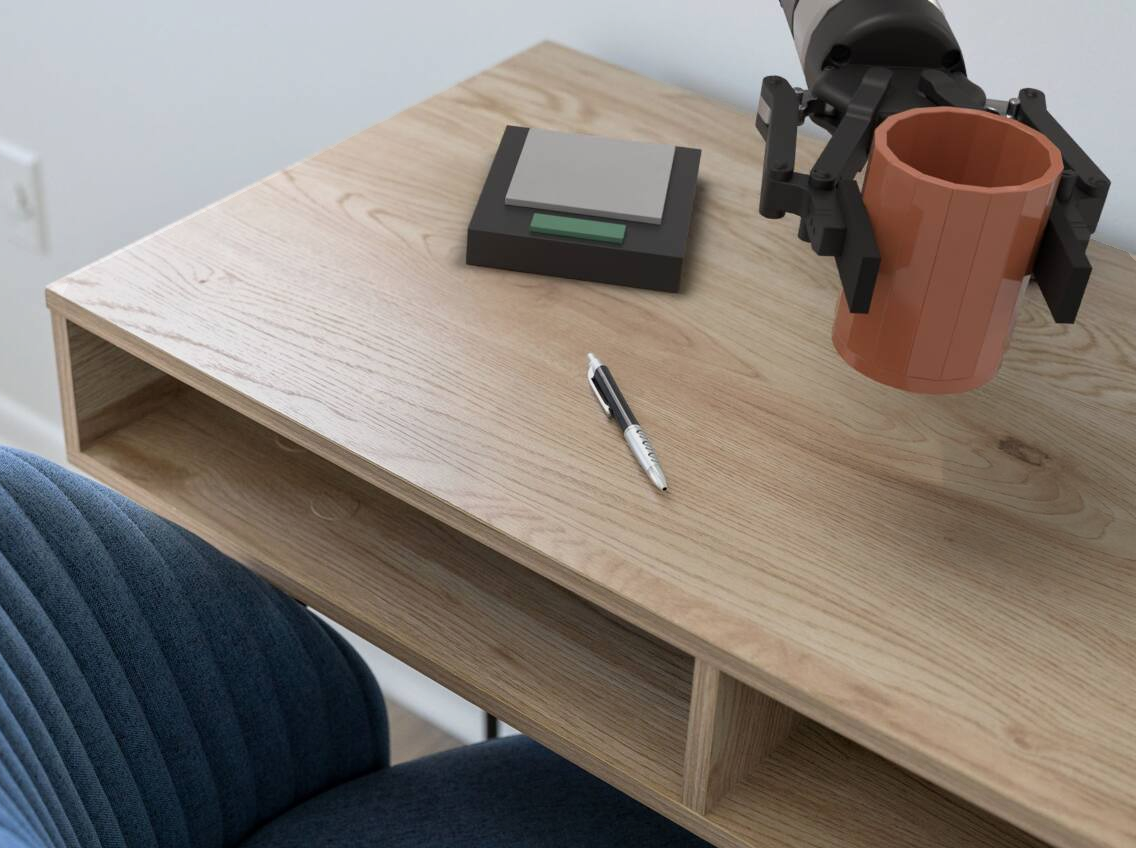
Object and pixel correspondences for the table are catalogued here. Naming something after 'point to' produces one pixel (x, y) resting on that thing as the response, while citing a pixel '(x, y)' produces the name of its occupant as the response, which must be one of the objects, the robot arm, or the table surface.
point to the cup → (948, 246)
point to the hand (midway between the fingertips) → (969, 290)
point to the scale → (586, 208)
